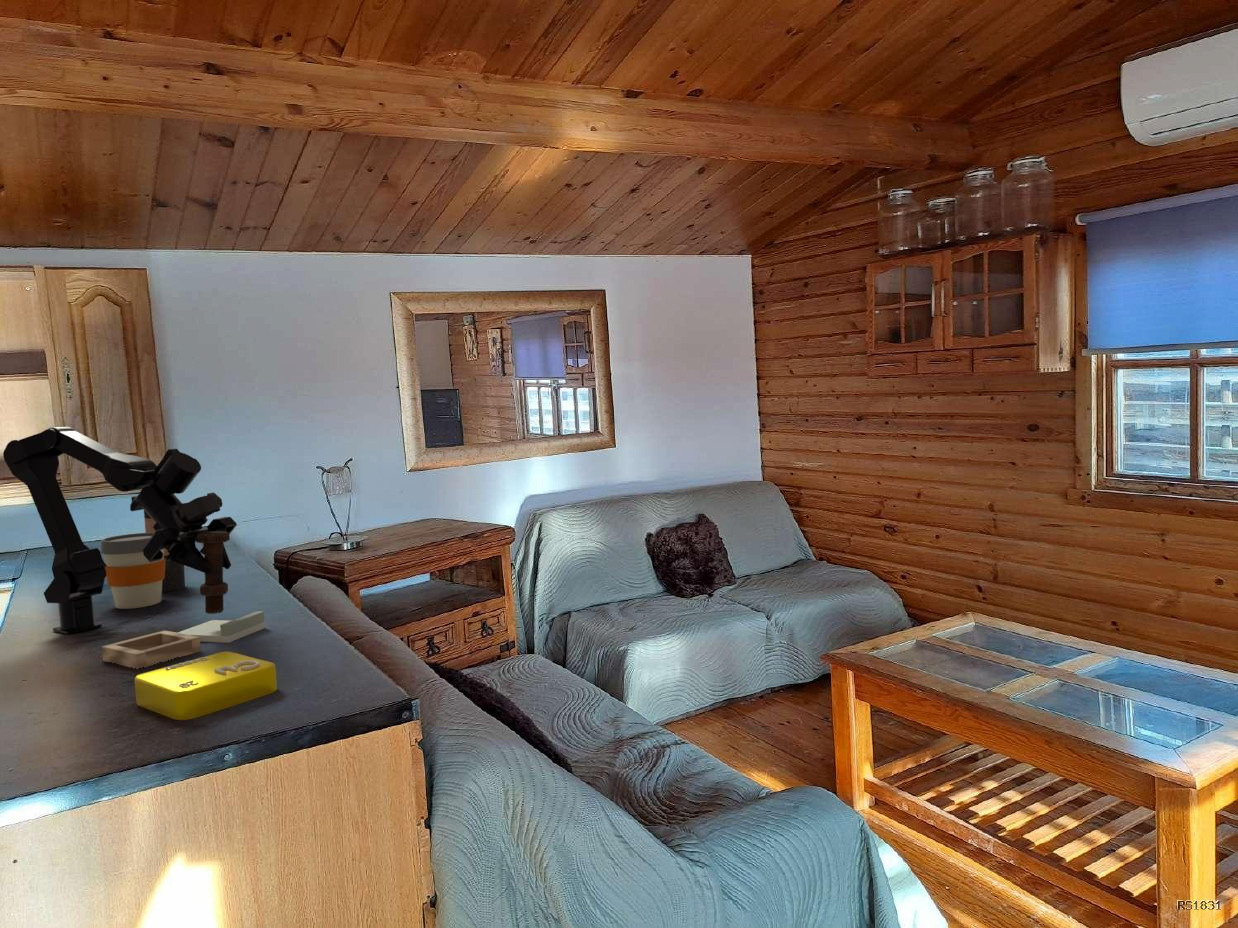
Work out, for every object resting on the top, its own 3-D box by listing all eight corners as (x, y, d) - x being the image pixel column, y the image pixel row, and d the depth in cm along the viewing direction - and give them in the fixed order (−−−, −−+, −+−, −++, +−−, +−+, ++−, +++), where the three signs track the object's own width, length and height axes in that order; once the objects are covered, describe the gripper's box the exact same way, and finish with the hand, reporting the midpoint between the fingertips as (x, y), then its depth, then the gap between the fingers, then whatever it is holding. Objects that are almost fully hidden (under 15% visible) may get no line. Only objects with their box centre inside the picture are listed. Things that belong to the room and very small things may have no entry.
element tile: (229, 676, 139) (227, 646, 138) (283, 691, 130) (280, 660, 129) (131, 705, 127) (128, 673, 126) (182, 724, 118) (179, 690, 117)
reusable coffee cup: (153, 594, 202) (147, 531, 201) (181, 600, 195) (175, 534, 194) (95, 606, 192) (89, 539, 191) (122, 613, 185) (116, 543, 183)
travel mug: (193, 586, 210) (186, 504, 209) (165, 593, 203) (157, 508, 202) (171, 584, 213) (164, 503, 212) (143, 591, 206) (135, 508, 205)
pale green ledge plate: (173, 640, 160) (172, 623, 160) (212, 625, 170) (211, 609, 170) (228, 642, 157) (227, 625, 157) (265, 627, 167) (263, 611, 166)
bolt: (225, 615, 160) (224, 534, 160) (195, 616, 159) (194, 535, 159) (232, 608, 166) (231, 530, 165) (203, 609, 165) (202, 531, 164)
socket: (103, 660, 149) (101, 646, 149) (165, 643, 158) (164, 630, 158) (138, 669, 143) (136, 654, 143) (201, 651, 152) (199, 637, 152)
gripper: (150, 486, 153) (207, 549, 151) (225, 475, 171) (277, 531, 169) (118, 530, 156) (173, 592, 154) (194, 515, 174) (245, 570, 172)
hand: (220, 569), depth 162 cm, fingers closed on bolt, 4 cm apart
